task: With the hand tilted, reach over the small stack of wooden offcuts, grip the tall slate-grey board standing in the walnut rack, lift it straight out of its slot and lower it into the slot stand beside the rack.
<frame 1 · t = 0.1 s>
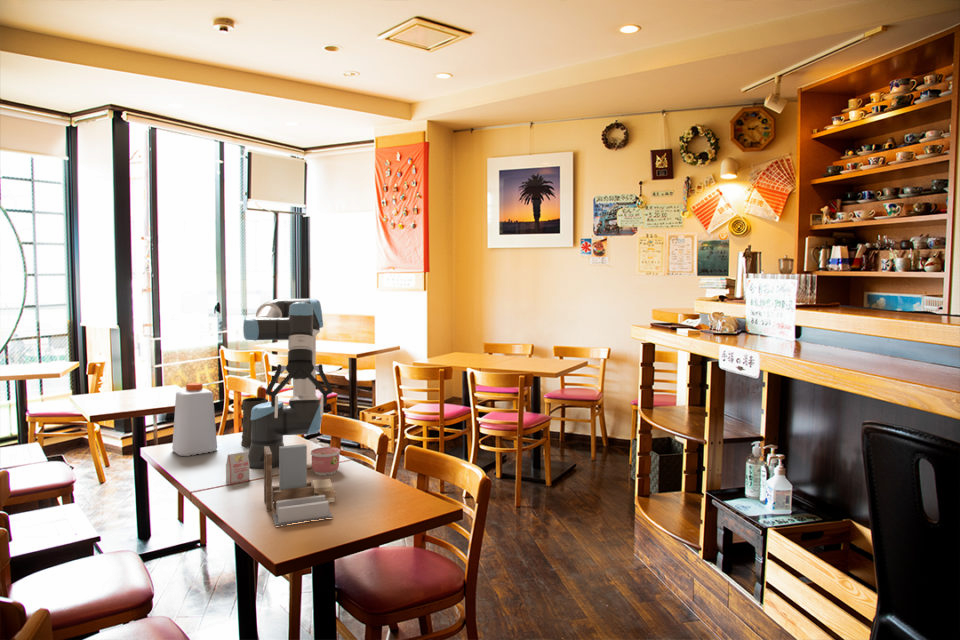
hand: (299, 417, 181), 28 cm above the table, tool tilted 20°, fingers open, 13 cm apart
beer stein: (256, 445, 251), on the table
container: (325, 472, 215), on the table
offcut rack: (293, 502, 184), on the table
plastic bottle: (194, 451, 240), on the table
slot stand: (302, 517, 172), on the table
tea bag: (237, 481, 203), on the table
slate board: (293, 502, 184), resting in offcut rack
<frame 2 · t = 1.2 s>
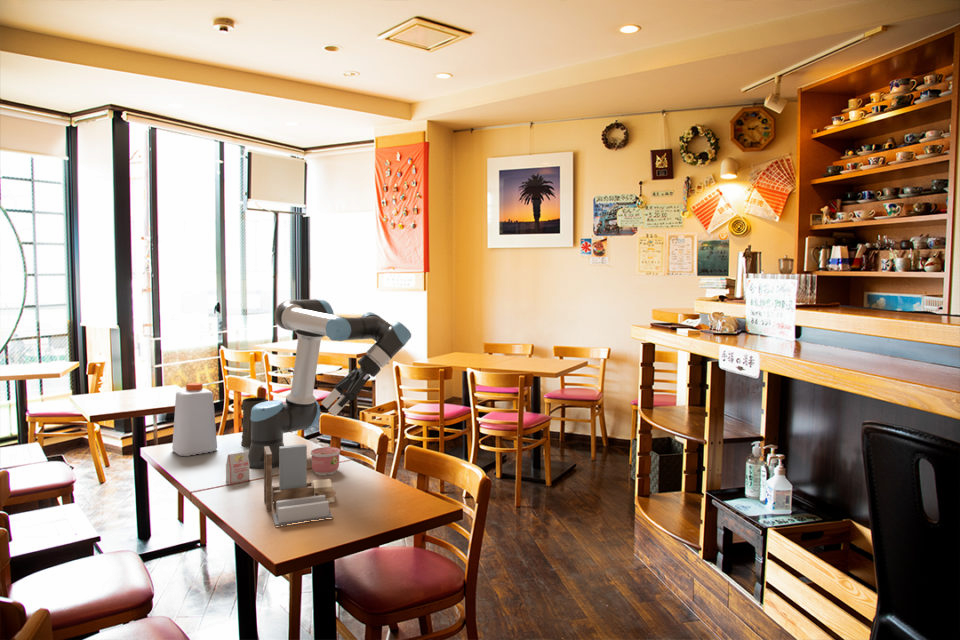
hand: (327, 409, 187), 29 cm above the table, tool tilted 45°, fingers open, 13 cm apart
nothing on the table moved.
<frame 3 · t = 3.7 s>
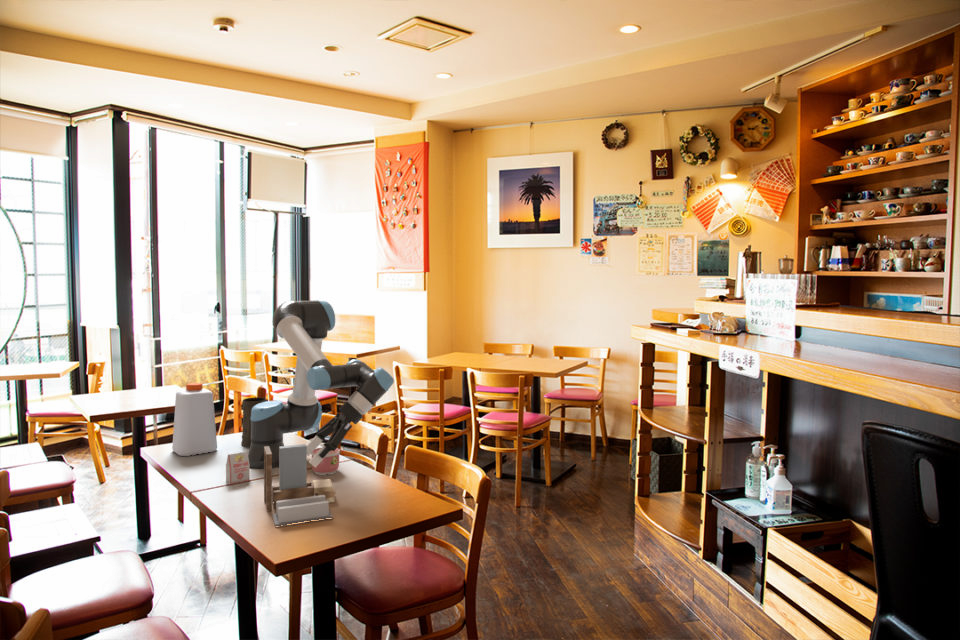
hand: (308, 458, 184), 14 cm above the table, tool tilted 45°, fingers open, 13 cm apart
nothing on the table moved.
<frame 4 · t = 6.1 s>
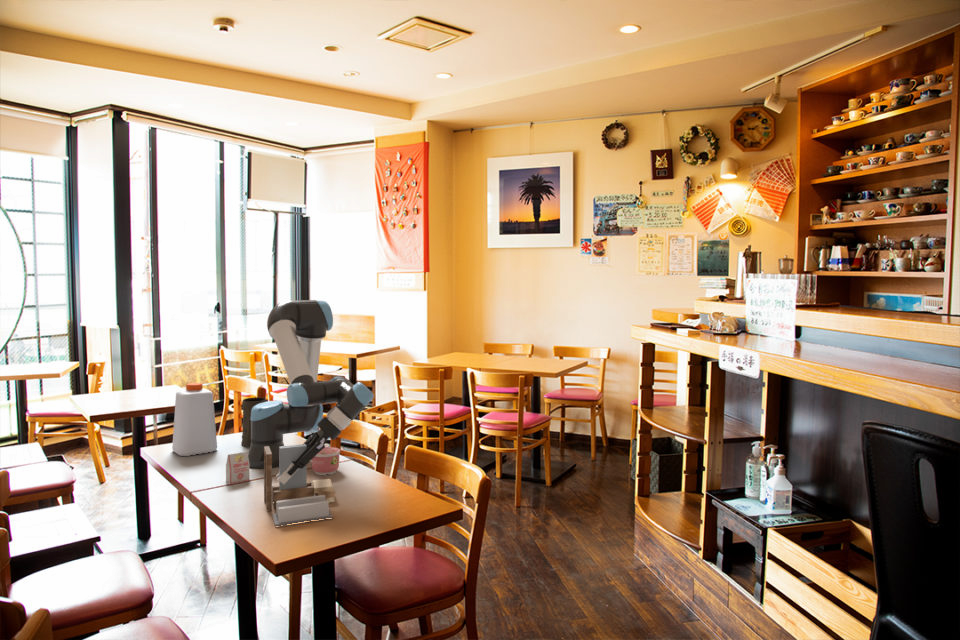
hand: (280, 480, 182), 8 cm above the table, tool tilted 45°, fingers closed on slate board, 2 cm apart
slate board: (293, 502, 184), resting in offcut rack, touching gripper
everything else where it was.
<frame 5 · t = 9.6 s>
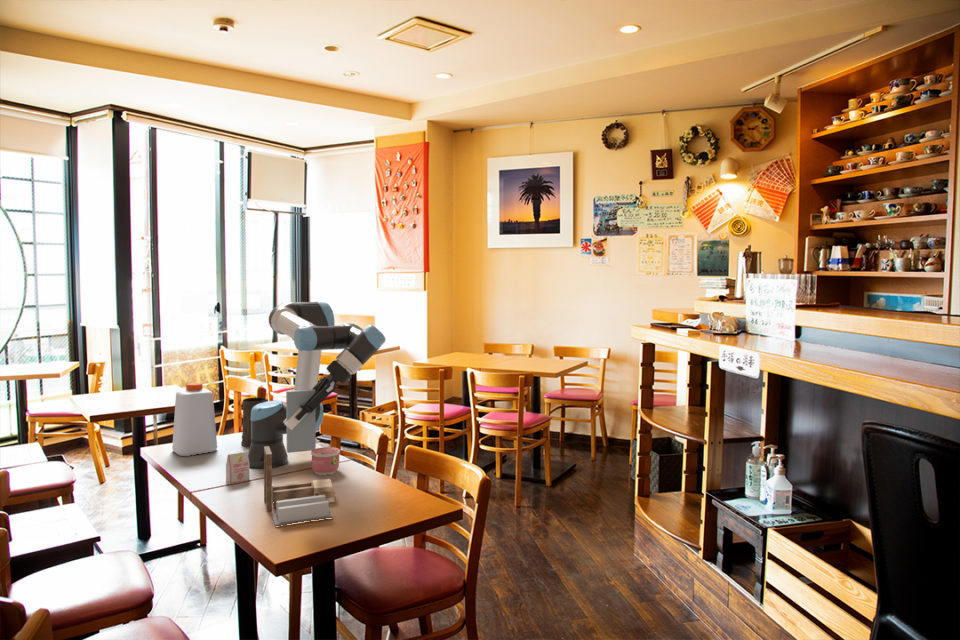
hand: (287, 425, 171), 27 cm above the table, tool tilted 45°, fingers closed on slate board, 2 cm apart
slate board: (301, 450, 173), point 19 cm above the table, touching gripper
everything else where it was.
when the fingers open (10 cm above the table, at t = 12.8 s): slate board drops 1 cm, resting on slot stand.
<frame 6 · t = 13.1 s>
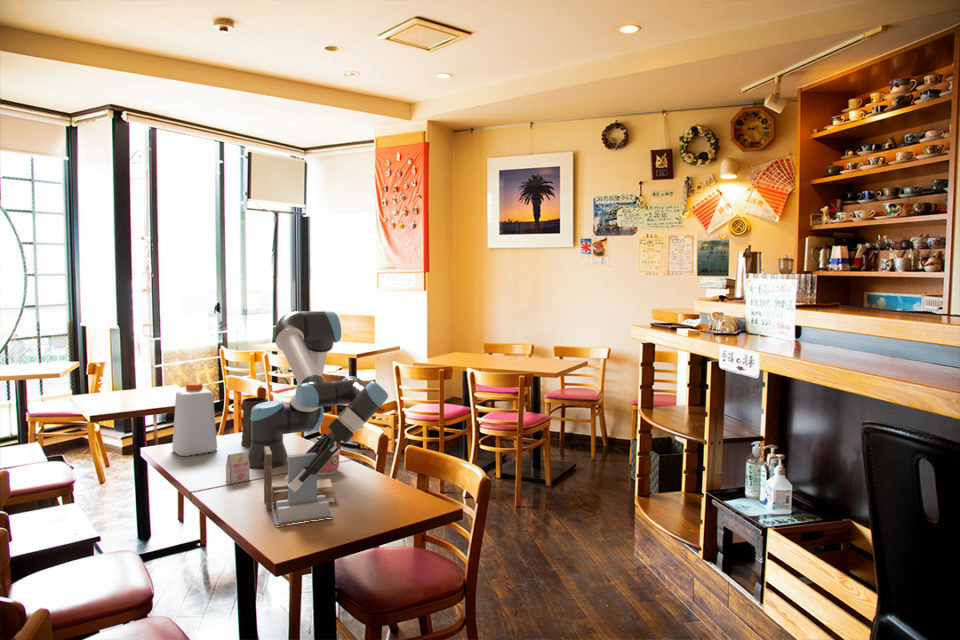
hand: (289, 485, 170), 10 cm above the table, tool tilted 45°, fingers open, 7 cm apart
slate board: (302, 514, 172), point 1 cm above the table, touching slot stand
everything else where it was.
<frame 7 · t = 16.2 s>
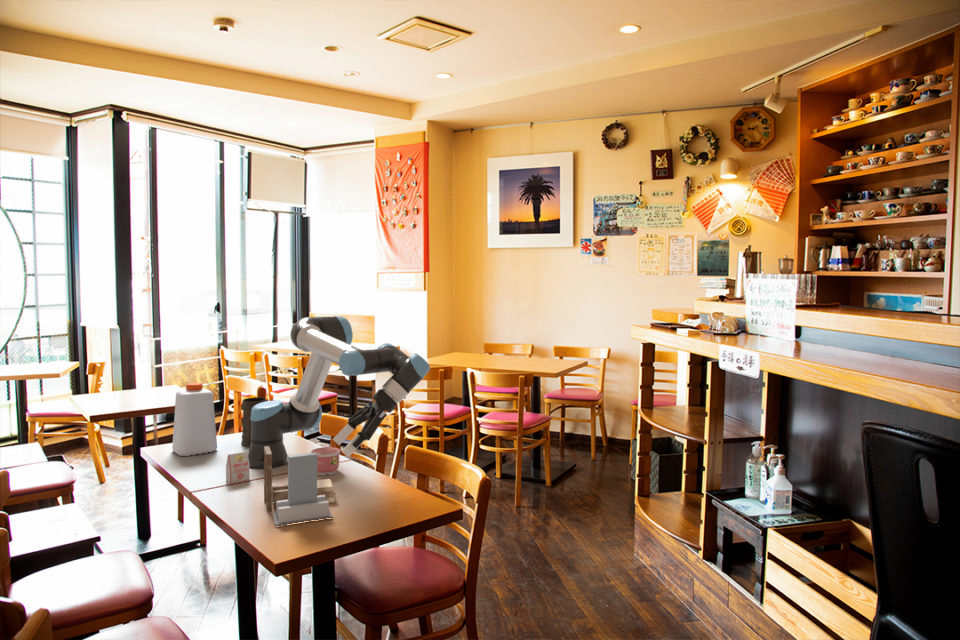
hand: (340, 448, 175), 20 cm above the table, tool tilted 45°, fingers open, 13 cm apart
nothing on the table moved.
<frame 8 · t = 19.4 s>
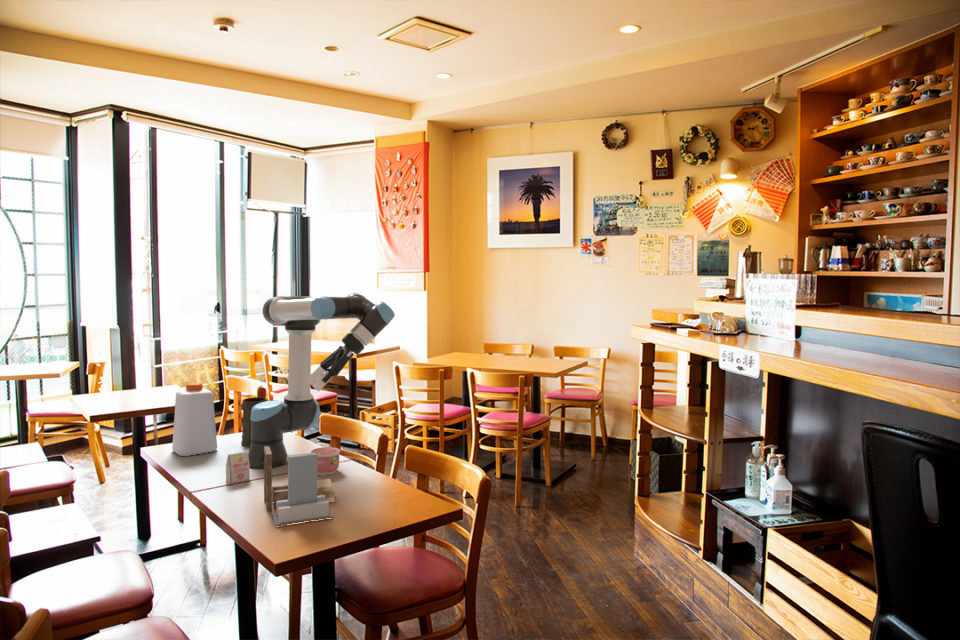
hand: (311, 385, 192), 36 cm above the table, tool tilted 45°, fingers open, 13 cm apart
nothing on the table moved.
at the end: slate board 0.1 cm off-centre on the slot stand, point 0.8 cm above the slot stand's base; slate board tilted 0°; the gripper is holding nothing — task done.
